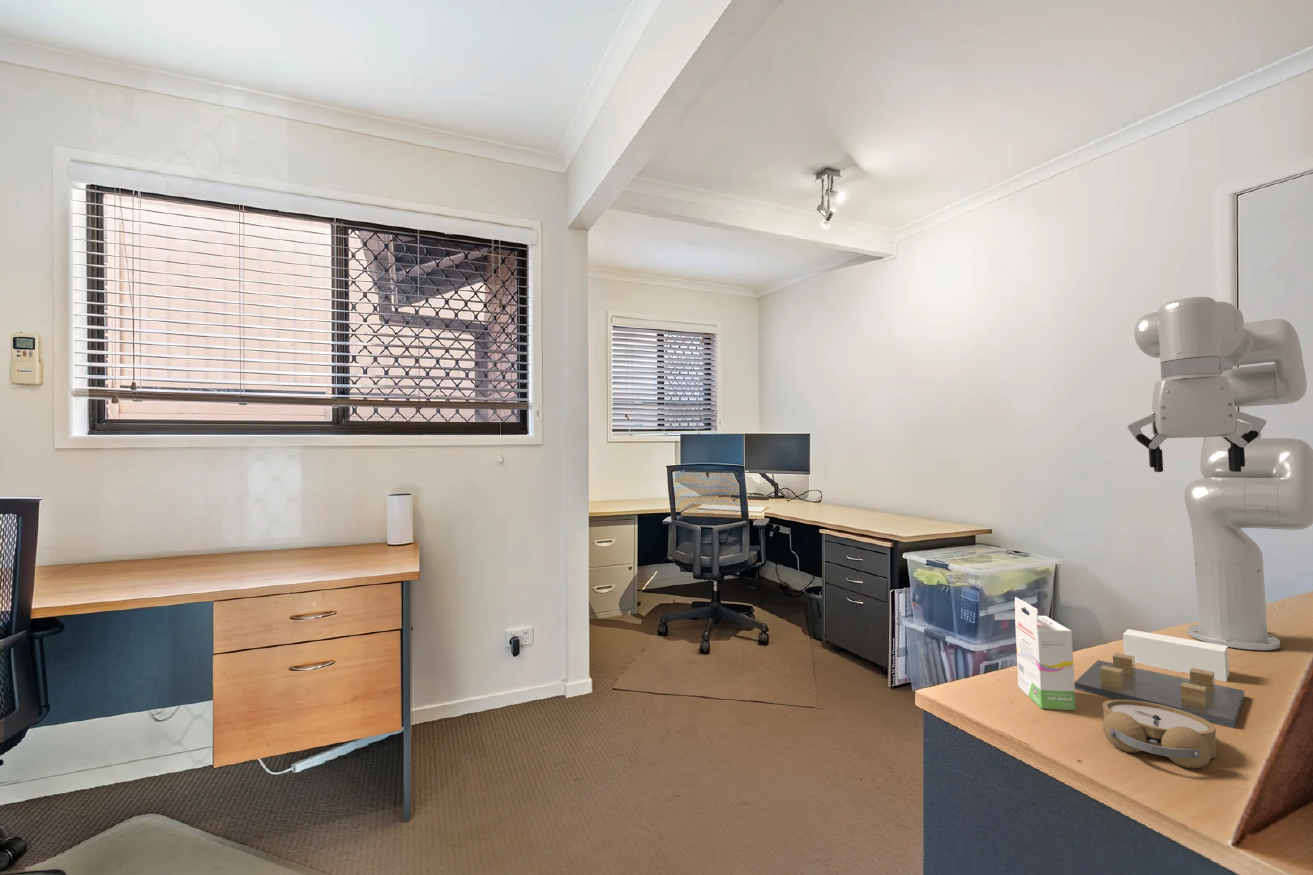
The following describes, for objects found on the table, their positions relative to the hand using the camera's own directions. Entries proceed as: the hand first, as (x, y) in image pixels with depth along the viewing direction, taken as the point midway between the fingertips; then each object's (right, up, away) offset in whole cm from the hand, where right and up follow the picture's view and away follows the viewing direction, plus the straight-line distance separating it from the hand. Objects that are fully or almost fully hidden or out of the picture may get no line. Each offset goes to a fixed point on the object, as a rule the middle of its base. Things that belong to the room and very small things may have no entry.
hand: (1195, 471), depth 96 cm
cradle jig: (-13, -34, -8) cm, 37 cm away
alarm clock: (-27, -35, -23) cm, 49 cm away
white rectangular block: (-2, -34, +2) cm, 34 cm away
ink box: (-31, -35, -8) cm, 47 cm away
